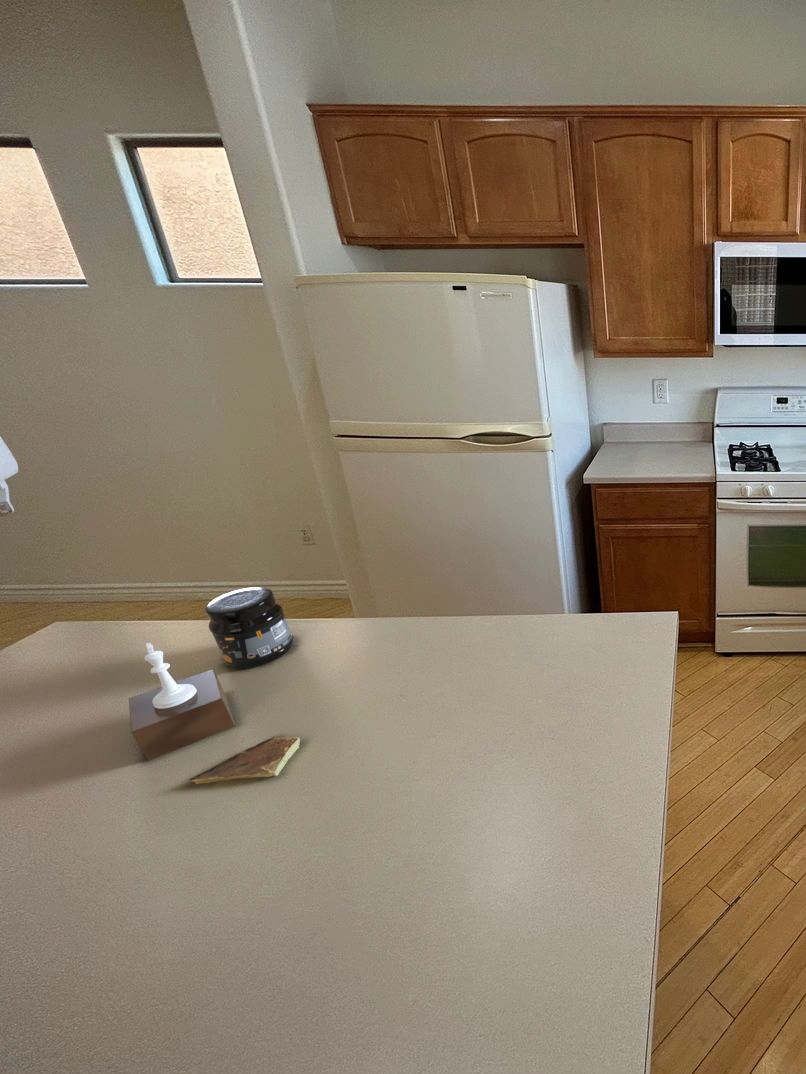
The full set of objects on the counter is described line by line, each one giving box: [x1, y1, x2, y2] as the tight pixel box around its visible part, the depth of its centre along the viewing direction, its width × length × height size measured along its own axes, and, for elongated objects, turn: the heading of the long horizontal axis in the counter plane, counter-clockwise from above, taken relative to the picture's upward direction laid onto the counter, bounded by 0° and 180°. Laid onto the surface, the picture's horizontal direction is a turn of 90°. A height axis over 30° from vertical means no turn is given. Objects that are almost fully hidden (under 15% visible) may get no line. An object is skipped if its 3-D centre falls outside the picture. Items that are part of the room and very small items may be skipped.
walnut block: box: [128, 668, 236, 762], centre depth 86 cm, size 10×10×6 cm
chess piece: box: [143, 642, 197, 709], centre depth 82 cm, size 5×5×10 cm
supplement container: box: [204, 586, 295, 670], centre depth 102 cm, size 10×10×12 cm
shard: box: [188, 735, 301, 785], centre depth 80 cm, size 11×8×2 cm
